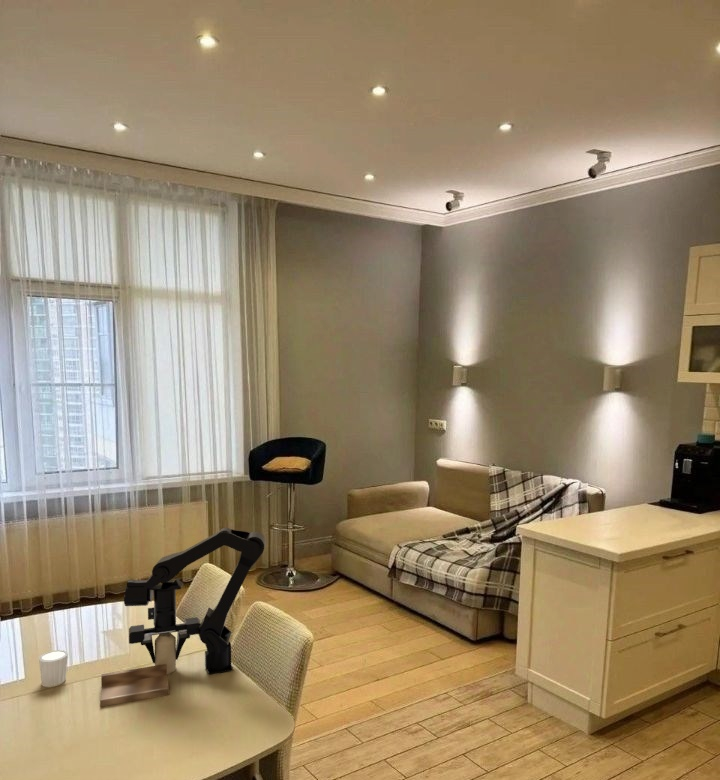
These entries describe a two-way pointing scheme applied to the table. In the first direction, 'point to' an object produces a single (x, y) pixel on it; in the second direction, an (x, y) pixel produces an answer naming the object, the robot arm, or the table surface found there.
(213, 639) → the robot arm
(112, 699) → the board
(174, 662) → the candle
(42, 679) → the white cylinder
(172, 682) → the table surface
